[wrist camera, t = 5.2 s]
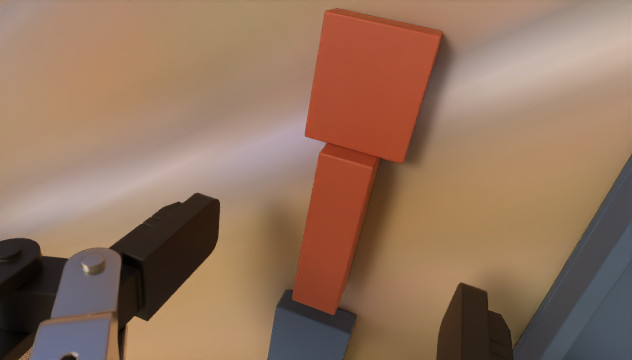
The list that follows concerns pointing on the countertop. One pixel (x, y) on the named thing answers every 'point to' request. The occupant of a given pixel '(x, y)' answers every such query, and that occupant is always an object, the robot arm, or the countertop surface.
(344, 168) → the terracotta spoon
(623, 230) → the slate tray
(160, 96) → the countertop surface
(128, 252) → the robot arm
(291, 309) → the slate spoon
